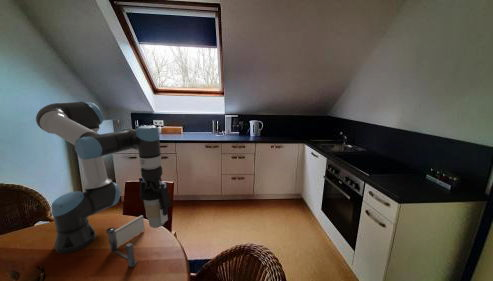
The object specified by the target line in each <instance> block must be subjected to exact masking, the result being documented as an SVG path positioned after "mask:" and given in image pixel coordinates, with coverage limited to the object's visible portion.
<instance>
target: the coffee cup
mask: <svg viewBox="0 0 493 281" xmlns="http://www.w3.org/2000/svg"><path fill="white" fill-rule="evenodd" d="M158 189H159V188H158ZM158 189H156V190H158ZM158 195H160V196H158ZM141 198H142V199H143V200H144V202H143V206H144V210H145V215H146V214H147V217H148V218H147V217H146V218H147V220H148V224H149V227H151V228H152V229H157V228H161V227H162V226H164V225H165V223H166V222H164V223H163V224H162V223H161V217H160V208H161V206H160V203H159V199H160V198H162V194H161V192H159V193H154V191H153V190H152V189H150V190H146V189H145V190H144V191H143V193H142V194H141ZM143 200H142V201H143Z"/></svg>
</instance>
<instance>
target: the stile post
mask: <svg viewBox="0 0 493 281" xmlns="http://www.w3.org/2000/svg"><path fill="white" fill-rule="evenodd" d="M133 245H134V244H133V243H131V242H128V243H126V244H125V250H126V256H127V258H128V259H127V263H128V267H130V268H134V267H135V266H136V264H135V261H136V259H135V254H134V253H135V252H134V246H133Z"/></svg>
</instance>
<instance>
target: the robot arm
mask: <svg viewBox="0 0 493 281" xmlns="http://www.w3.org/2000/svg"><path fill="white" fill-rule="evenodd" d="M103 118H104V117H103V114H102V111H101V110H100V108H99V106H98V105H96V104H95V103H94V102H91V101H78V102H77V101H76V102H75V101H74V102H57V103H50V104H47V105H45V106H43V107H42V108H40V109H39V110H38V112H37V113H36V117H35V122H36V124H37V126H38V127H39V128H40V129H41V130H42V131H44V132H46V133H48V134H53V135H54V134H55V135H56V136H57V137H59V138H61V139H63V140H65V141H66V142H68V143H70V144H72V145H73V146H74V150H75V153H76V155H78V157H79V158H80V159H81V164H82V168H83V171H84V175H85V176H84V177H85V178H86V185H85V186H84V192H82V191H80V190H76V191H71V192H67V193H65V194H63V195H60V196H58V197H57V198H56V199H55V200H54V201H52V203H51V215H52V217H53V221H54V225H55V229H56V237H55V240H54V250H55V252H56V253H58V254H63V255H65V254H71V253H74V252H77V251H79V250H82V249H85V248H86V247H88V246H90V245H91V244H92V243H93V242H94V241H95V240H96V238H97V237H96V236H97V235H96V231H95V229H94V227H93V226H92V225H91V223H90V222H89V217H90V216H94V215H95V214H97V213H100V212H103V211H104V210H106V209H110V208H111V207H112V206H114V205H117V204H118V202H119V201H120V198H121V191H120V188H119V187H118V184H117V183H116V182H113V180H112V179H110V178H109V177H108V174H107V168H106V166H105V162H104V156H108V155H112V154H115V153H119V152H124V151H128V150H135V151H136V150H137V151H138V156H139V157H138V158H139V162H140V163H139V164H140V165H139V166H140V174H141V177H139V178H138V182H139V200H141V201H142V202H143V203H144V200H143V199H142V198H141V194H142V193H143V191H144V190H145V189H146V190H150V189H152V190H153V191H154V193H159V192H161V194H162V198H160V199H159V203H160V206H161V208H160V217H161V223H162V224H163V223H164V222H165V223H166V222H167V221H169V218H168V214H169V211H168V208H169V207H171V206H172V202H171V197H170V193H169V184H168V183H169V182H167V181H166V182H164V181H163V180H162V175H163V166H162V164H163V163H162V154H161V153H162V152H161V142H160V133H159V129H158V127H157V126H155V125H141V126H137V127H136V129H133V128H121V129H119V130H118V131H113V132H109V133H108V132H107V133H98V131H99V130H100V129H101V128H100V126H101V125H102V124H103V121H104V119H103ZM158 188H159V189H158ZM156 189H158V190H156ZM158 196H160V195H158ZM145 216H146V218H147V219H148V217H147V214H146V213H145ZM165 223H164V224H165Z"/></svg>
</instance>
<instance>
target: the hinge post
mask: <svg viewBox="0 0 493 281" xmlns="http://www.w3.org/2000/svg"><path fill="white" fill-rule="evenodd" d="M115 230H116V228H115V227H113V226H112V227H108V228H107V229H106V234H107V236H108V241H109V242H108V244H109V248H110V252H111V253H115V251H118V247H117V246H116V240H115V233H114V231H115Z"/></svg>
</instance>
